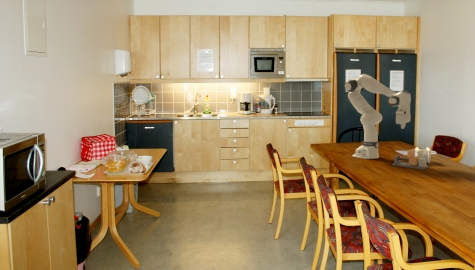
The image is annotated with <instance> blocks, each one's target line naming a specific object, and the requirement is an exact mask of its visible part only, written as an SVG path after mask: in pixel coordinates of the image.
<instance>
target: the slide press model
mask: <svg viewBox="0 0 475 270" xmlns="http://www.w3.org/2000/svg"><path fill="white" fill-rule="evenodd" d="M417 163H418V164H419V165H409V158H407V157H406V158H405V157H400V155H395V156H394V161H393V163H392V166H393V167H401V168H408V169H415V168H416V169H417V170H422V169H423V170H425V169H428V168H429V164H428V165H427V161H426V159H425V158H420V159H417ZM416 169H415V170H416Z"/></svg>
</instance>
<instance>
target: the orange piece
mask: <svg viewBox="0 0 475 270" xmlns="http://www.w3.org/2000/svg"><path fill="white" fill-rule="evenodd" d="M406 155H407V156H406V158H408V159H409V161H408V163H409V165H419V164H418V163H417V159H420V157H418V156H415V148H412V149H409V150H407V154H406Z"/></svg>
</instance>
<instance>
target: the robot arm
mask: <svg viewBox="0 0 475 270" xmlns="http://www.w3.org/2000/svg"><path fill="white" fill-rule="evenodd" d="M343 87H344V90H345V92H348V94H347V97H348V100H349V102H350V103H351V105H352V106H353V107H354V109H355V110H356V111H357V113H359V114H360V115H361V116H360V119H359V120H360V123H361V124H362V126H363V133H364V137H363V138H364V139H363V141H361V145H360V146H359V147H358V148H356V149H355V152H354V154H352V156H351V157H354V158H358V159H363V160H364V159H365V160H370V159H373V160H374V159H379V158H380V156H379V155H380V154H379V141H378V139H379V137H378V136H379V132H378V130H377V127H376V125H378V124H380V123H381V122H382V120H383V115H382V114H381V113H380V112H378V110H376V109H375V108H374V107H372V106H371V105H370V104H369V102H368V101H367V100H366V99H365V97H364V96H363V95H362V94H361V92H363V90H366V91H368V92H369V93H372V94H381V95H384V96H386V97H387V99H386V103H387V105H388V106H390V107H398V108H397V110H396V111H395V124H397V125H400V129H405V128H406V124H407V123H410V122H411V119H412V118H411V103H412V102H411V99H412V97H411V93H410V92H409V91H408V90H400V91H399V92H397V91H395V90H392V89H391V88H390V87H388V86H386V85H384V84H383V83H381V82H380V81H378V80H377V79H375V78H374V77H373V76H371V75H369V74H366V73H362V74H361V75H359V76H358V77H353V78H351V79H348V80H346V81H345V82H344V85H343Z"/></svg>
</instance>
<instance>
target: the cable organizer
mask: <svg viewBox="0 0 475 270" xmlns="http://www.w3.org/2000/svg"><path fill="white" fill-rule="evenodd" d="M414 149H415V156H418V157H420V158H425V159H426V163H427V164H428V165H430V164H431V160H432V159H431V155H432V149H431V148H430V147H426V148H425V149H421V148H419V147H418V146H417V147H415V148H414Z"/></svg>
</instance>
